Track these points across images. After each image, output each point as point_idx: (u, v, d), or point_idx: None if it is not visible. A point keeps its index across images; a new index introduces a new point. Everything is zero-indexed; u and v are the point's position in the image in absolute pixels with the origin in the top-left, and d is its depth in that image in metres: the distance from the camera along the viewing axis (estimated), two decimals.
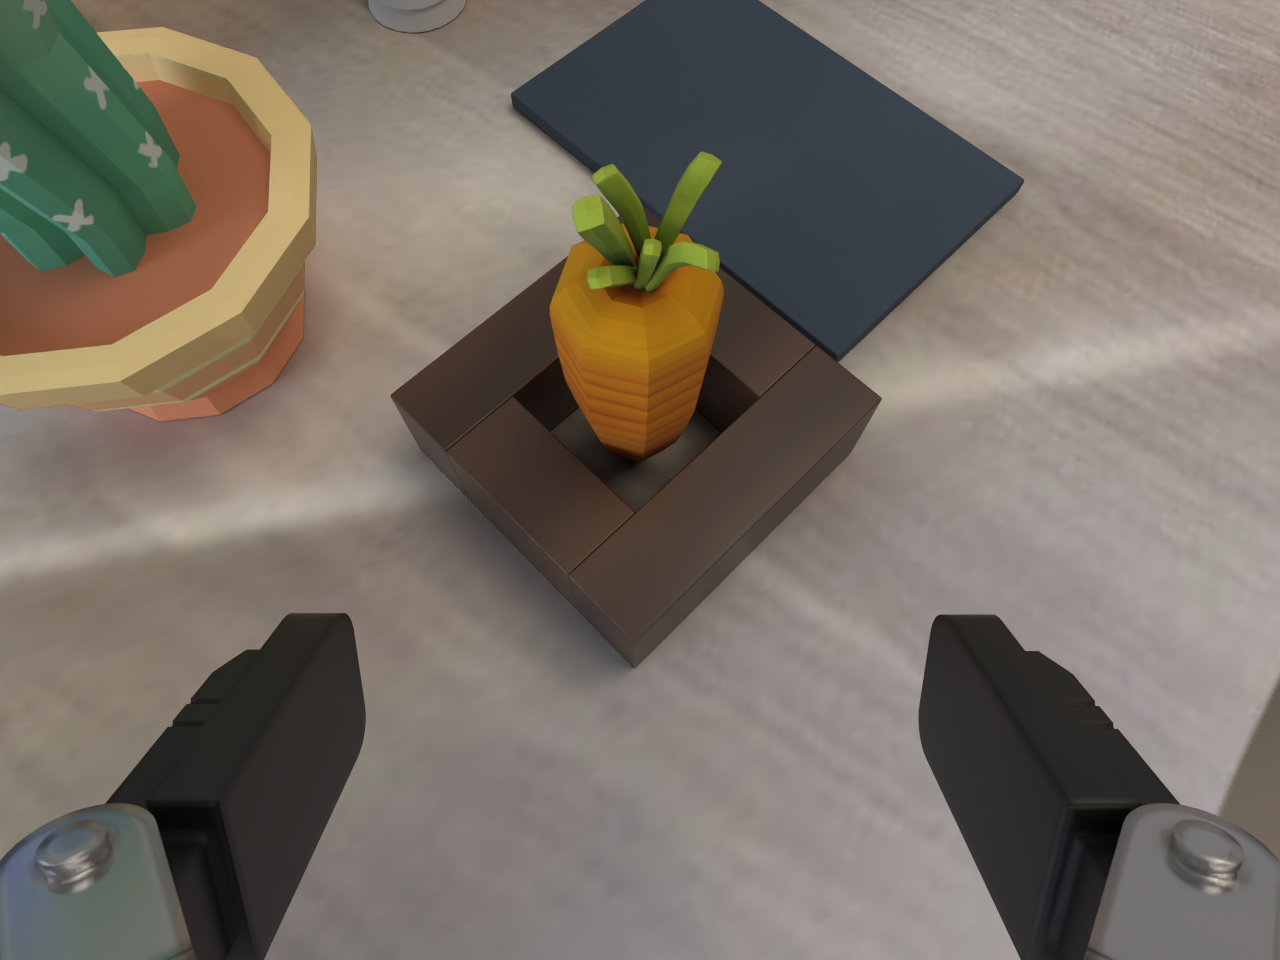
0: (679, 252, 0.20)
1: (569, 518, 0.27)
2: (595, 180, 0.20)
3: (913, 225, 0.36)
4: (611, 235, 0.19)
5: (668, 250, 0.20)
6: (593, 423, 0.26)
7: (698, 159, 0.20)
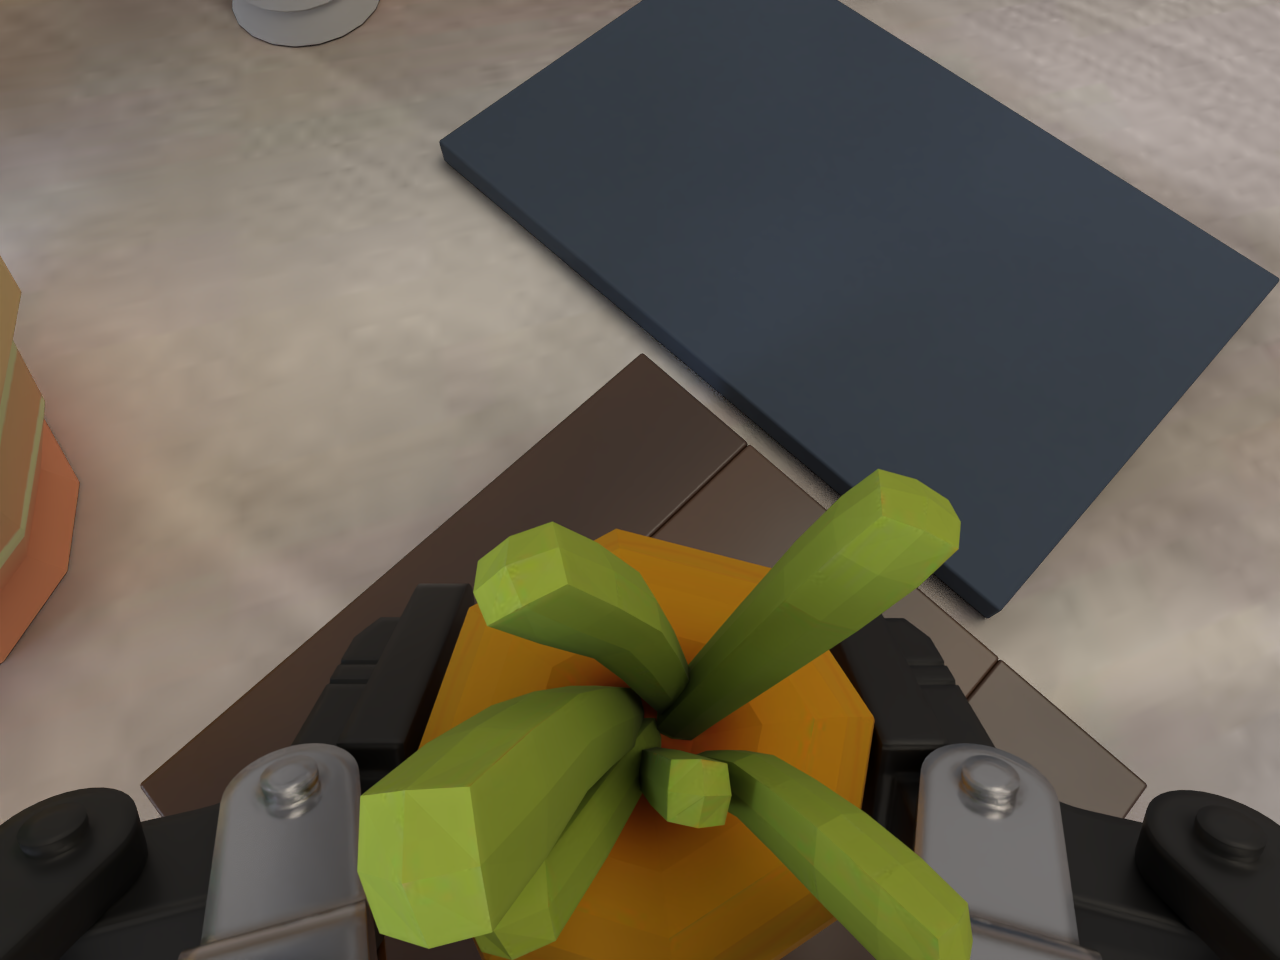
0: (802, 858, 0.05)
1: None
2: (483, 605, 0.05)
3: (1105, 361, 0.21)
4: (541, 853, 0.05)
5: (753, 792, 0.06)
6: None
7: (879, 523, 0.05)
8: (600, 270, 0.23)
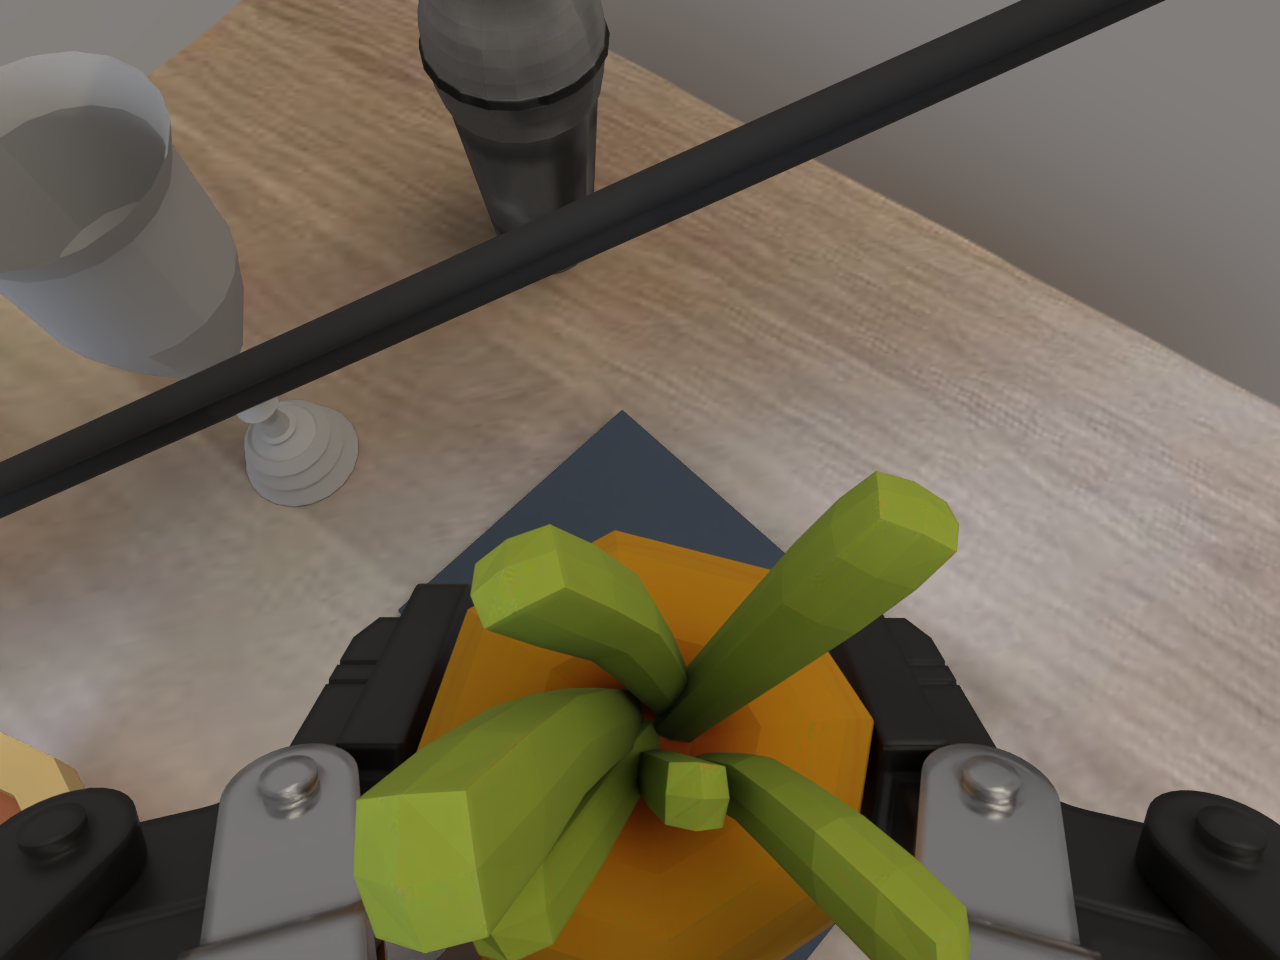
0: (799, 861, 0.05)
1: None
2: (480, 608, 0.05)
3: None
4: (539, 856, 0.05)
5: (751, 795, 0.06)
6: None
7: (875, 527, 0.05)
8: None
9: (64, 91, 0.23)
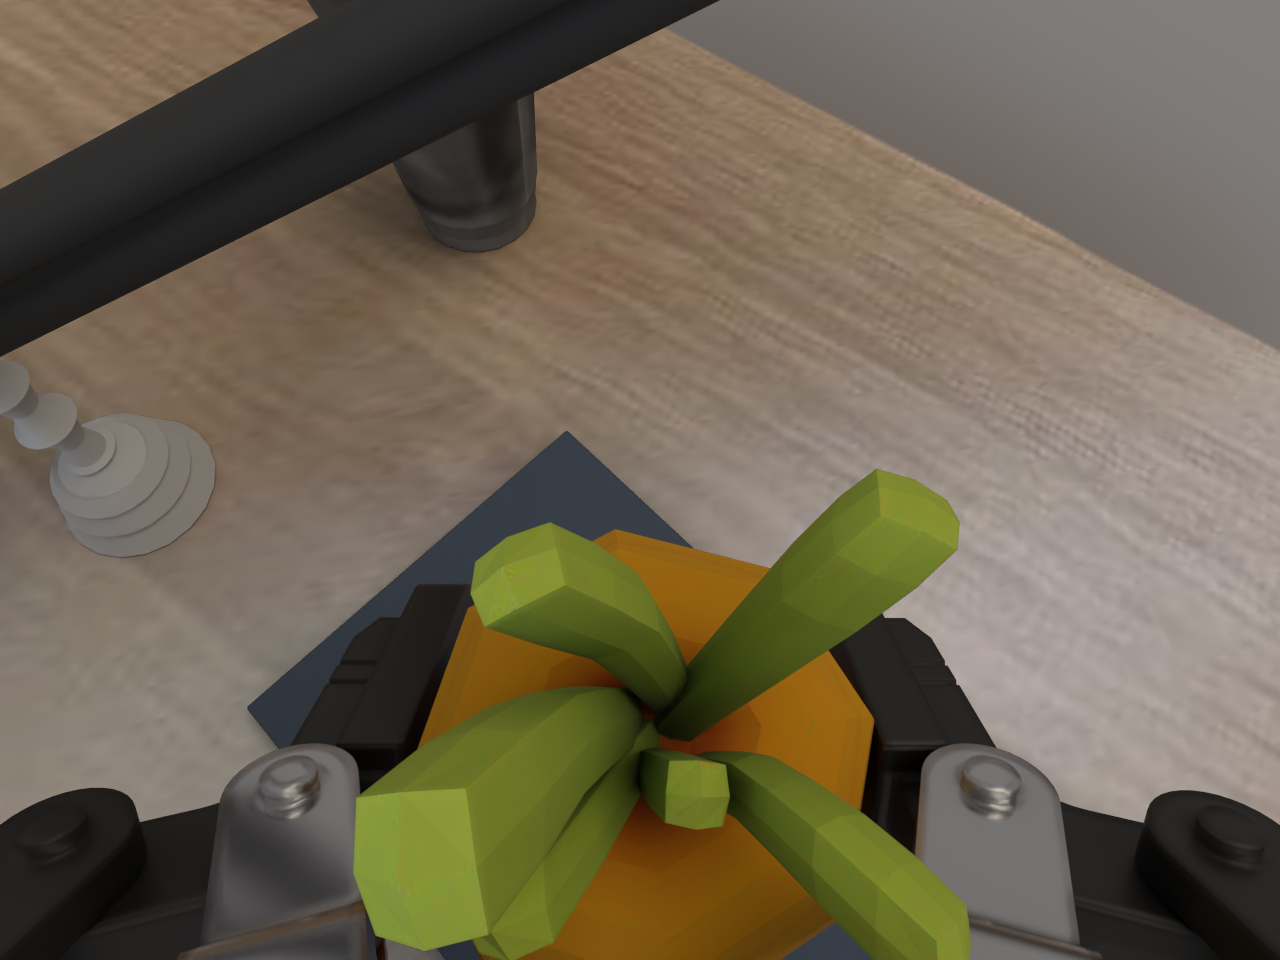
0: (801, 860, 0.05)
1: None
2: (480, 606, 0.05)
3: None
4: (539, 854, 0.05)
5: (751, 793, 0.06)
6: None
7: (876, 524, 0.05)
8: None
9: None
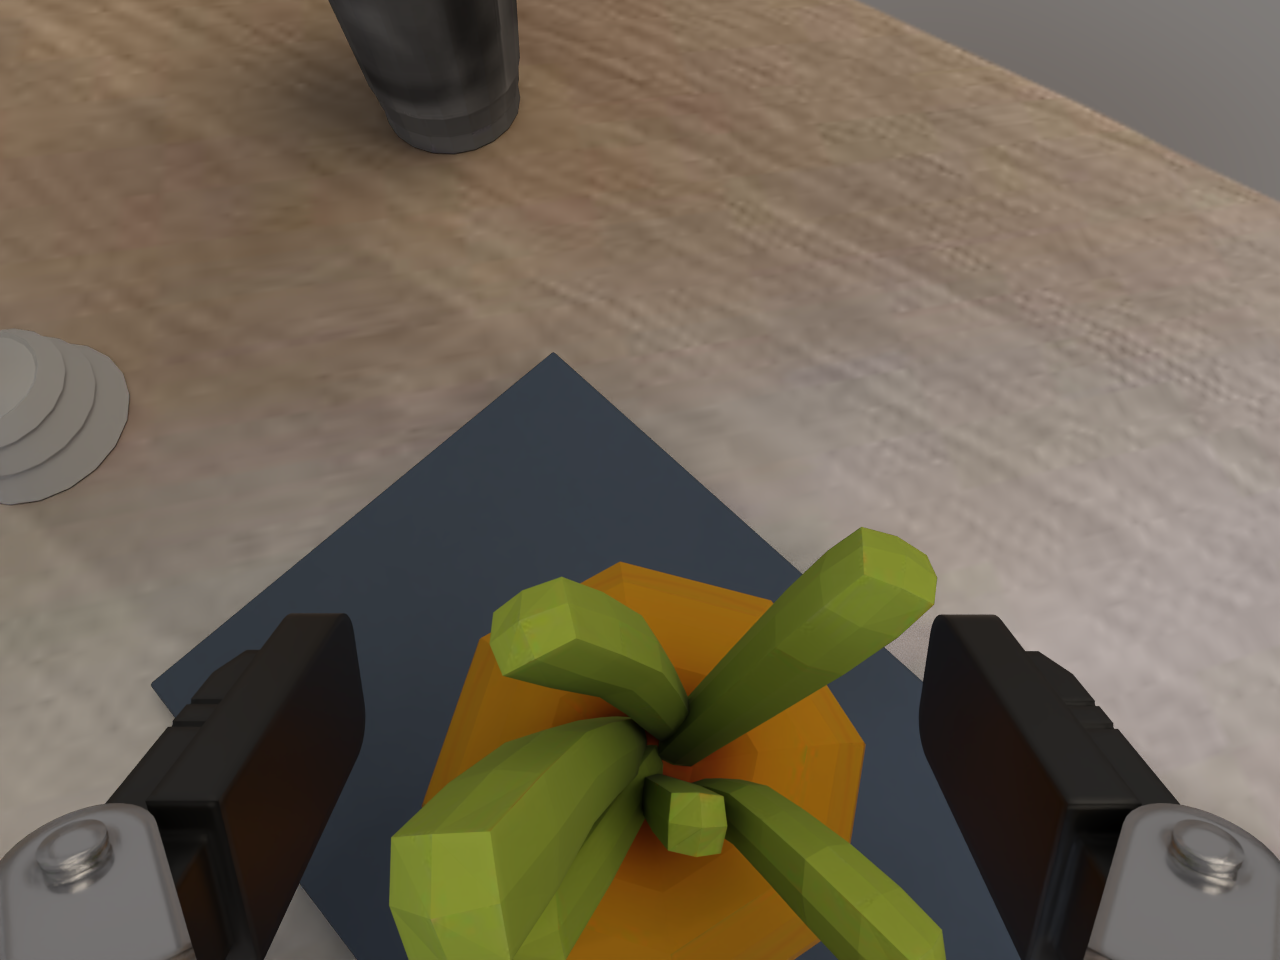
0: (792, 887, 0.06)
1: None
2: (499, 656, 0.06)
3: None
4: (553, 884, 0.05)
5: (747, 822, 0.06)
6: None
7: (860, 581, 0.06)
8: (325, 904, 0.18)
9: None
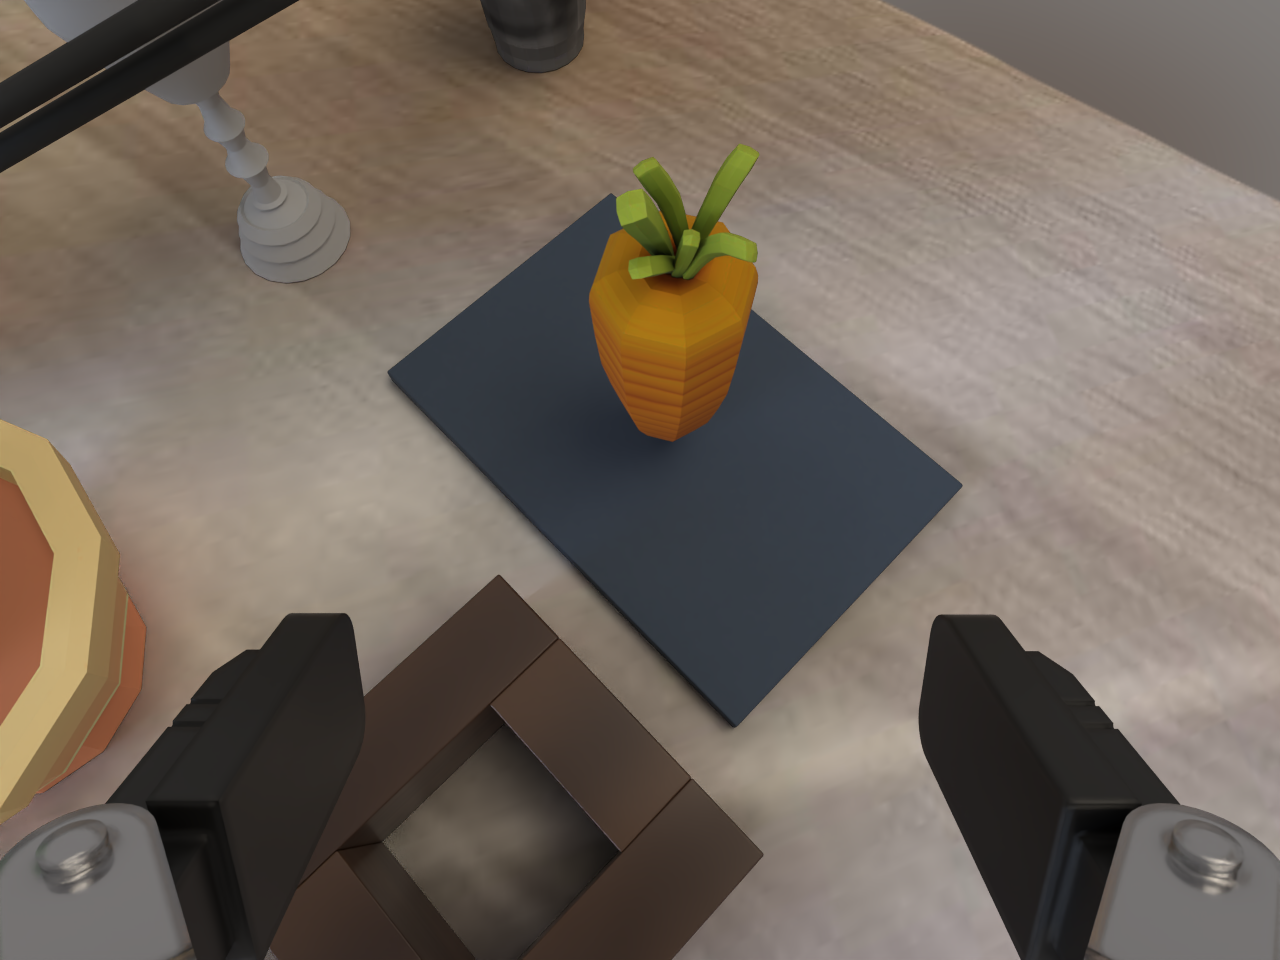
0: (717, 243, 0.21)
1: None
2: (636, 173, 0.20)
3: (832, 547, 0.32)
4: (652, 227, 0.20)
5: (706, 240, 0.21)
6: (629, 406, 0.27)
7: (736, 152, 0.20)
8: (494, 476, 0.33)
9: None
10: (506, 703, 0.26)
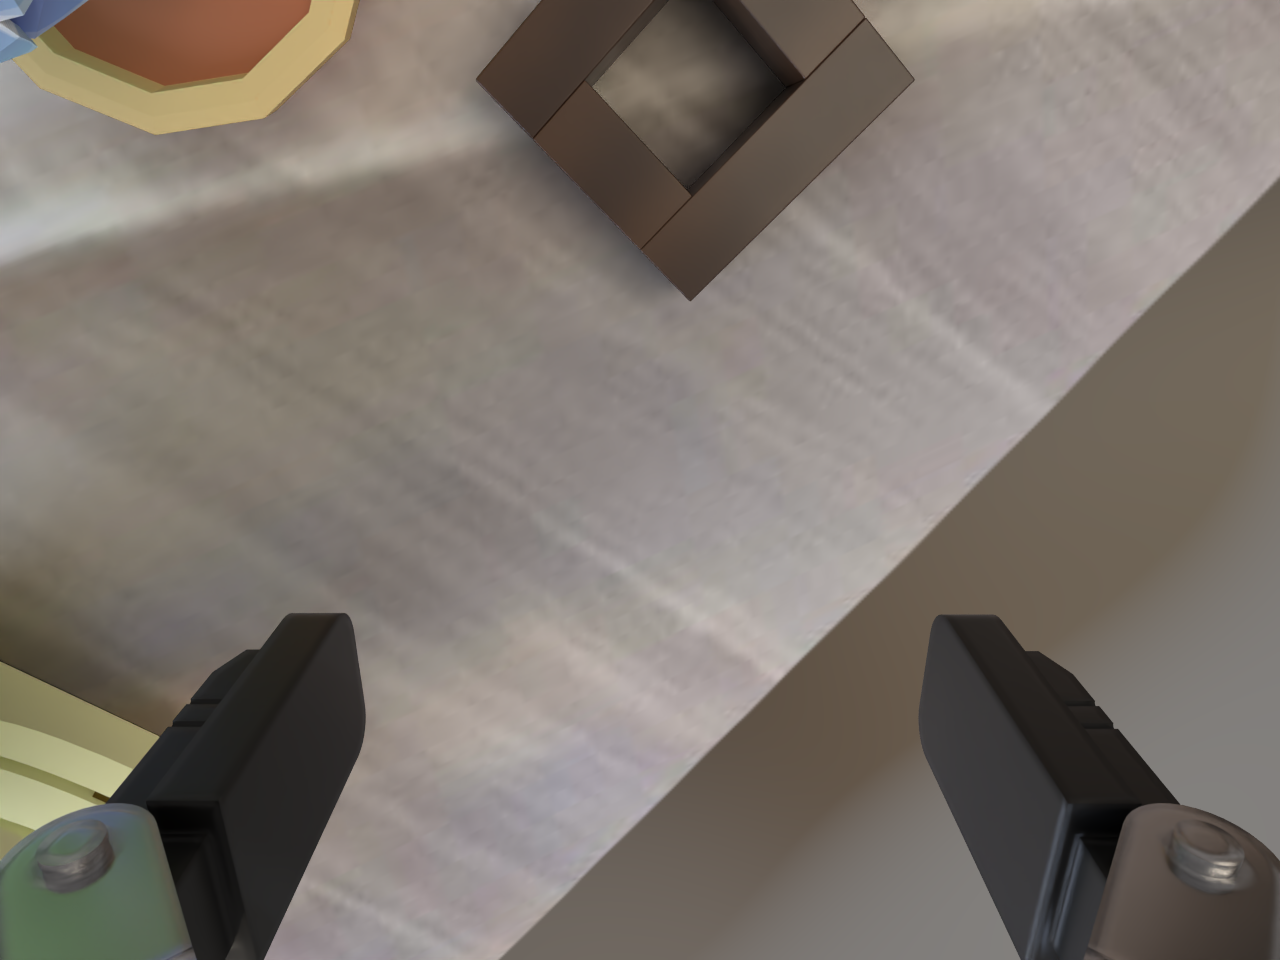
0: None
1: (640, 202, 0.34)
2: None
3: None
4: None
5: None
6: None
7: None
8: None
9: None
10: None
